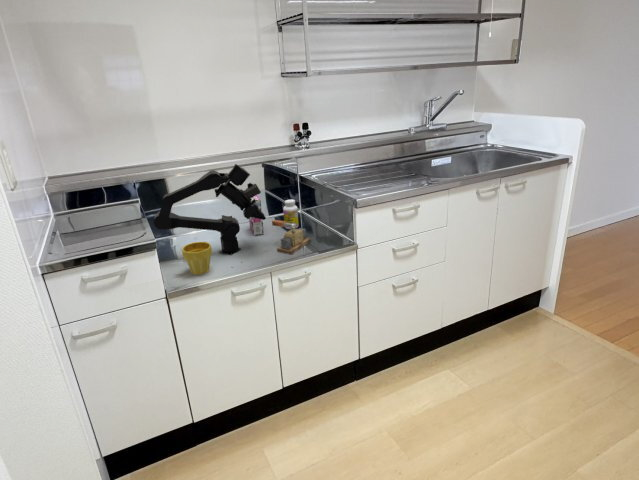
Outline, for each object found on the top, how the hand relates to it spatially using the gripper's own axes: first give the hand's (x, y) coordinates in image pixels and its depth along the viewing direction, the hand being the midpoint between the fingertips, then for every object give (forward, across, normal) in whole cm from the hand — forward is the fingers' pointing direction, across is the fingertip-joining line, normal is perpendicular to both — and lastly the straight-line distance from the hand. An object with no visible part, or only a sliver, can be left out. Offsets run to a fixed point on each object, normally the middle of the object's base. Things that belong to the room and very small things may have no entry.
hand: (264, 217), depth 168 cm
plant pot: (-10, -15, +28) cm, 34 cm away
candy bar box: (+8, +19, +10) cm, 23 cm away
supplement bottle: (+19, +18, -1) cm, 27 cm away
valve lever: (+8, -2, -2) cm, 9 cm away
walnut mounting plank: (+16, -5, +1) cm, 17 cm away
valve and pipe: (+15, -5, 0) cm, 16 cm away
